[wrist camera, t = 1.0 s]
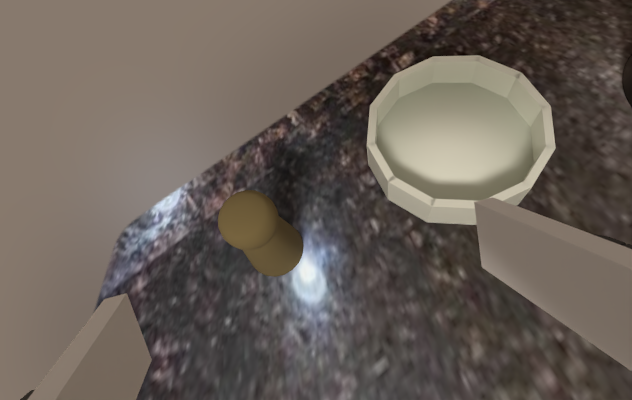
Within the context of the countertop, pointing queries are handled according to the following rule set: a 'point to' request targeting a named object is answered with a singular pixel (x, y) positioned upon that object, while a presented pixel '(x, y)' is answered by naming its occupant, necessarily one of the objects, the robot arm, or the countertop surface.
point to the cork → (260, 233)
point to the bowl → (458, 137)
